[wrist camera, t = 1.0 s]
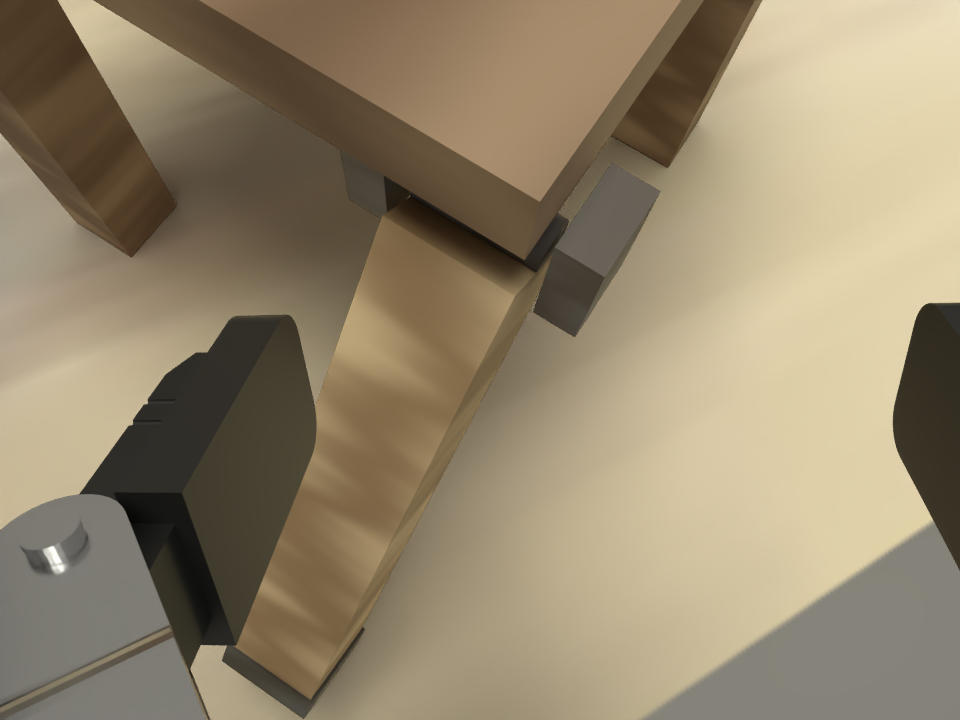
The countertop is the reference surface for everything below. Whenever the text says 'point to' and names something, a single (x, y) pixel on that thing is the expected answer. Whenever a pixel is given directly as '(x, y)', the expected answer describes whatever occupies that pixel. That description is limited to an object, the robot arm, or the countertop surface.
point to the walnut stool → (400, 108)
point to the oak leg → (384, 435)
